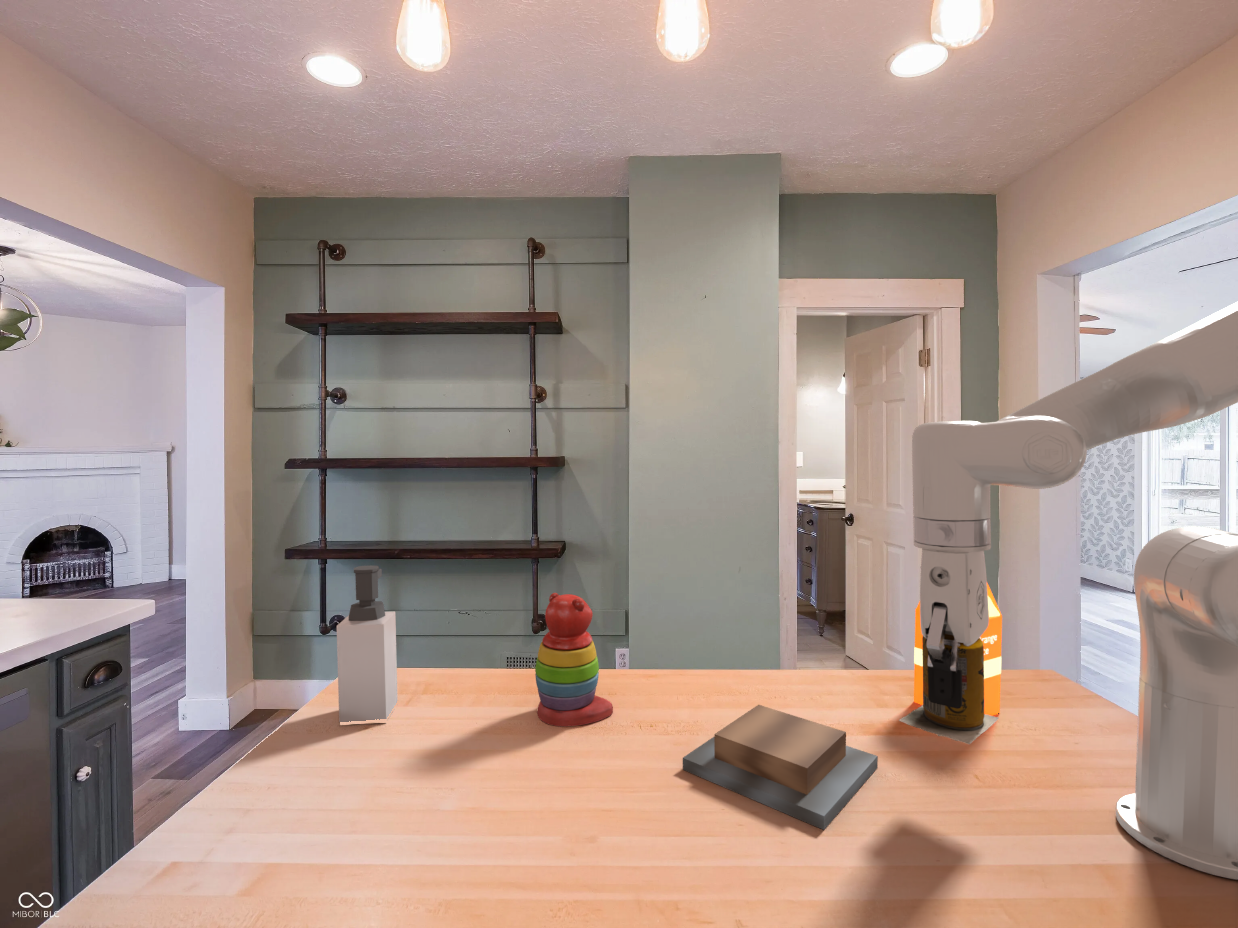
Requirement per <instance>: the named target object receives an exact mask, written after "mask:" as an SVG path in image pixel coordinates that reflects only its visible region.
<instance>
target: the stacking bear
mask: <svg viewBox="0 0 1238 928" xmlns="http://www.w3.org/2000/svg"><path fill="white" fill-rule="evenodd" d="M548 601H549V603H548V604H547V607H546V608H545V613H544V614H545V615H544V617H545V618H544V619H545V624H546V626H547V629H548V632H547V633H546V634H544V636H543V638H542V640H541V642H540V645H539V647H538V652H537V658H536V661H535V669H534V671H535V674H534V675H535V683H536V687H537V693H538V697H539V703H538V706H537V711H536V714H537V717H538V719H539V720H540V721H541V722H543V723H545V724H547V725H551V726H555V727H562V728H563V727H576V726H577V727H578V726H582V725H588V724H593V723H596V722H599V721H601V720H604V719H606V718H608V717H610V716H611V715H613V714H614V706H613V704H612V702H611V701H610V700H608V699H606V698H605V697H601V696H598V695H596V691H597V686H598V683H599V682H598V681H599V672H600V671H599V670H600V665H599V660H598V656H597V650H596V646H595V643H594V640H593V637H592V635H591V634H590V632H588V631H587V630H588V628H589V627H590V625H591V622H592V620H593V614H594V613H593V611H592V609H591V608H590V605H589V604H588V603H587V602H586V601H585V599H584V598H583V597H580V596H578V595H575V594H572V593H571V594H570V593H569V594H566V593H565V594H559V593H557V592H553V593H551V594H550V595H549V598H548Z"/></svg>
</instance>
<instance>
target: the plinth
mask: <svg viewBox="0 0 1238 928" xmlns="http://www.w3.org/2000/svg"><path fill="white" fill-rule="evenodd" d="M878 757H879V756H878V755H876V754H873V753H870V752H867V751H864V750H861V749H859V748H855V747H851V746H850V745H849V746H848V745H847V731H846V730H845V731H844V730H841V729H838V728H836V727H835V728H834V727H832V726H829V725H825V724H822V723H819V722H816V721H813V720H809V719H806V718H803V717H799V716H797V715H793V714H790V713H787V712H783V711H780V710H778V709H774V708H771V707H768V706H765V705H761V704H757V705H755V706H754V707H753V708H751V709H750V710H748V711H747V712H745V713H744V714H743V715H741V716H740V717H738V718H737V719H735V720H734V721H732V722H730V723H729V724H727V725H726V726H725V727H723V728H722V729H720V730H719V731H717V732H716V733H714V735H713V737H711V738H710V739H708V740H707V741H705V742H704V743H702V744H701V745H699V746H698V747H696V748H695V749H693V750H692V751H690V752H689V753H688V754H685V755H684V756H683V757H682V770H683V771H685V772H687V773H690V774H692V775H694V776H697V777H699V778H702V779H704V780H706V781H709V782H711V783H713V784H716V785H718V786H720V787H723V788H725V789H727V790H730V791H732V792H734V793H737V794H739V795H741V796H743V797H746V798H748V799H750V800H753V801H754V802H757V803H760V804H762V805H764V806H766V807H769V808H772V809H774V810H776V811H778V812H780V813H784V814H785V815H787V816H790V817H792V818H795V819H797V820H799V821H802V822H804V823H807V824H809V825H812V826H813V827H816V828H818V829H821V830H822V831H823V830H824V831H825V830H826V829H827V828H828V826H829V825H830V824H831V822H833V820H834V819H835V818H836V817H837V815H838V814H839V813H840V812H841V811H842V810H843V809H844V808H845V807H846V805H847V804H848V803H849V802H850V801H851V799H852V798H853V797H854V796H855V795H856V794H857V792H858V791H859V790H860V789H861V788H862V787H863V785H864V784H865V783H866V782H867V781H868V780H869V778H870V777H871V776H872V775H873V774H874V772H876V770H877V769H878V765H879V764H878V762H879V761H878V759H879V758H878Z"/></svg>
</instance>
